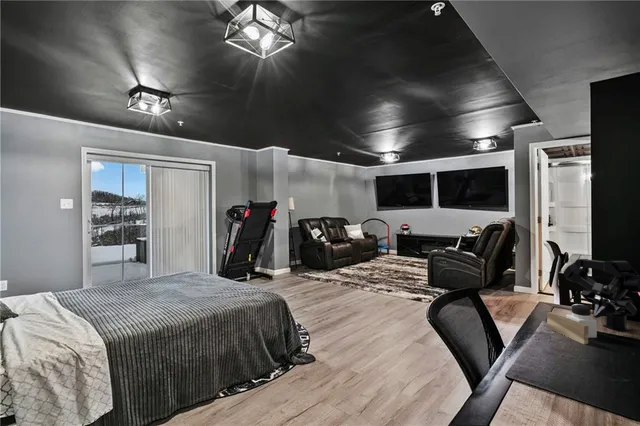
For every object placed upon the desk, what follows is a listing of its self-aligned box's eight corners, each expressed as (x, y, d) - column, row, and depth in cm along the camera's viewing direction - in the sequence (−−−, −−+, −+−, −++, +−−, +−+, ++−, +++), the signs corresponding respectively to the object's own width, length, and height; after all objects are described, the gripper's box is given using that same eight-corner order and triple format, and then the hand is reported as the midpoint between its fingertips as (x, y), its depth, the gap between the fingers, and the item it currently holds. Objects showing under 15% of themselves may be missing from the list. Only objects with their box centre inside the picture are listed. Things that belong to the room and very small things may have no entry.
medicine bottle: (597, 337, 127) (597, 308, 127) (579, 338, 127) (579, 308, 127) (582, 330, 134) (582, 302, 134) (565, 330, 134) (565, 302, 134)
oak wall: (551, 328, 137) (551, 312, 137) (588, 343, 122) (588, 325, 121) (547, 328, 137) (547, 312, 137) (583, 344, 121) (583, 326, 121)
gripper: (583, 271, 141) (562, 297, 140) (631, 281, 123) (607, 311, 121) (598, 288, 143) (577, 314, 141) (647, 300, 124) (624, 330, 123)
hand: (595, 316), depth 132 cm, fingers closed
